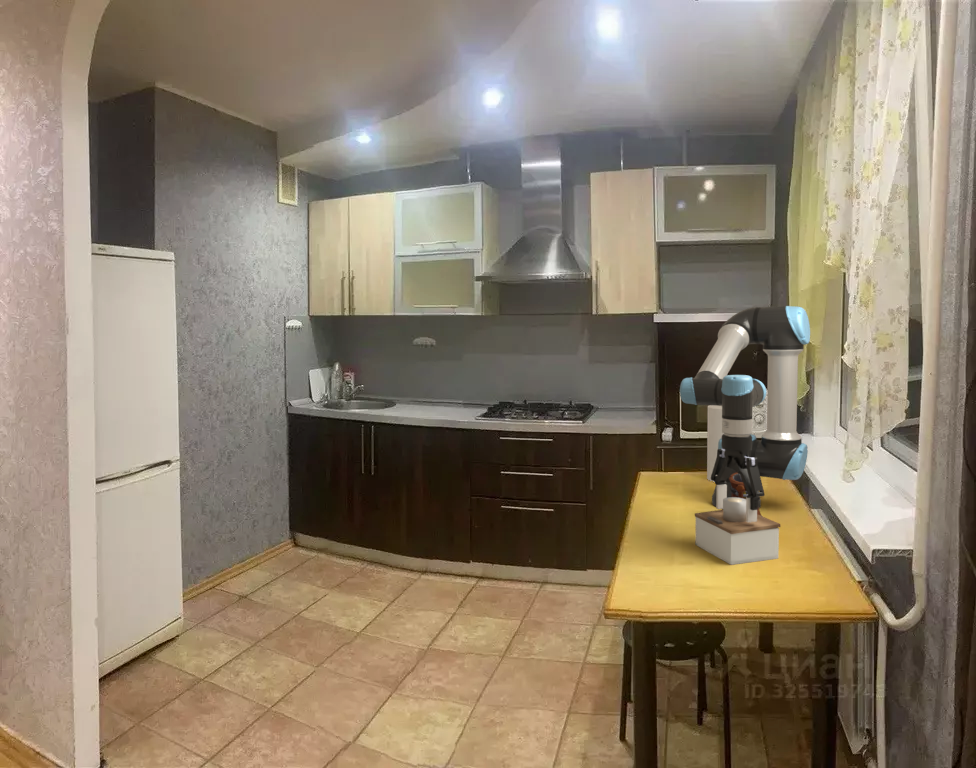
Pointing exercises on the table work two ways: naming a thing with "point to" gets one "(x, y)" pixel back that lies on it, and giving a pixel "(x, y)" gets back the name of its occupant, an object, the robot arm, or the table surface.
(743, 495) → the mug
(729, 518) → the grey squat drum
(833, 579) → the table surface
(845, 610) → the table surface
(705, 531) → the box
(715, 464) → the robot arm
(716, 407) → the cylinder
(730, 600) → the table surface
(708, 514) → the lid
